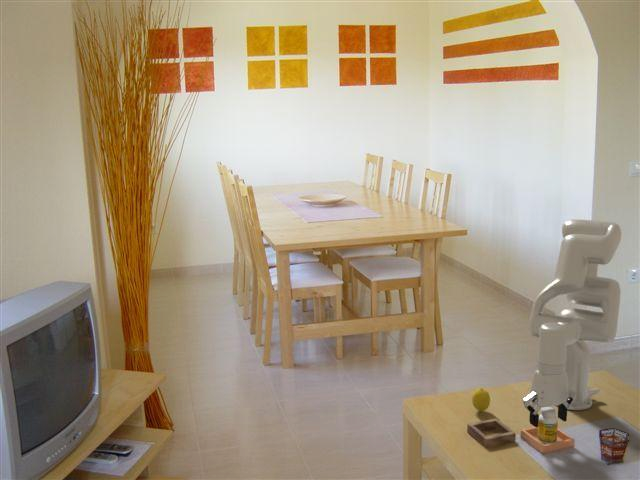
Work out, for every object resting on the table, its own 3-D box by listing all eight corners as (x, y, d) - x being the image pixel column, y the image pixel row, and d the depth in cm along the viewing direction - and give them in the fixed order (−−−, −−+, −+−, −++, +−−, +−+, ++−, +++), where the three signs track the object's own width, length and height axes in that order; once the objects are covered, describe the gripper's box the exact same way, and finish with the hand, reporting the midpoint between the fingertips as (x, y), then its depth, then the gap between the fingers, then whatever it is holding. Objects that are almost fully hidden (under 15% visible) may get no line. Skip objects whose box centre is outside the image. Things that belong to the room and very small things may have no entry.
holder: (495, 425, 212) (496, 418, 211) (515, 441, 203) (515, 433, 202) (467, 431, 209) (467, 424, 208) (485, 447, 200) (485, 439, 199)
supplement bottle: (550, 434, 205) (552, 404, 203) (560, 443, 200) (562, 412, 198) (533, 437, 204) (535, 406, 201) (543, 446, 198) (545, 415, 196)
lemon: (489, 416, 218) (490, 392, 217) (471, 414, 219) (472, 391, 218) (489, 408, 224) (490, 385, 222) (471, 407, 225) (472, 384, 223)
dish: (550, 431, 208) (550, 423, 208) (574, 447, 198) (574, 439, 198) (520, 437, 205) (520, 429, 204) (543, 454, 195) (543, 446, 194)
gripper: (567, 357, 203) (564, 411, 207) (517, 366, 197) (514, 421, 201) (585, 367, 196) (581, 422, 200) (533, 376, 190) (530, 433, 194)
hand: (548, 422), depth 200 cm, fingers open, 9 cm apart
